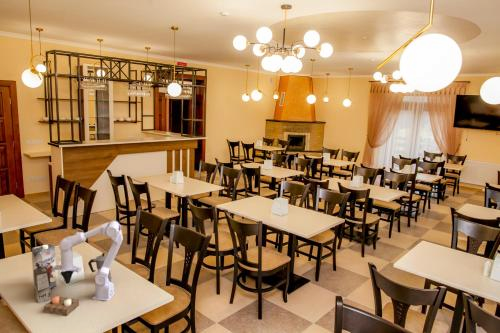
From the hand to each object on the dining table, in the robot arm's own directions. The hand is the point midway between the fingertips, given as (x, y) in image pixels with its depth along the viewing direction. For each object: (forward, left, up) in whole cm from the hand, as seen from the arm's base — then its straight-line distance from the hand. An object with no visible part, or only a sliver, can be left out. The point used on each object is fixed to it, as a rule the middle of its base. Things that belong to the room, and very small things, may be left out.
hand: (67, 282), depth 193 cm
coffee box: (+14, +2, -10) cm, 18 cm away
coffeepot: (-6, -23, -10) cm, 26 cm away
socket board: (-3, +9, -10) cm, 14 cm away
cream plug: (-6, +9, -9) cm, 15 cm away
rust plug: (+1, +9, -9) cm, 13 cm away
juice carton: (+20, -7, -10) cm, 23 cm away
